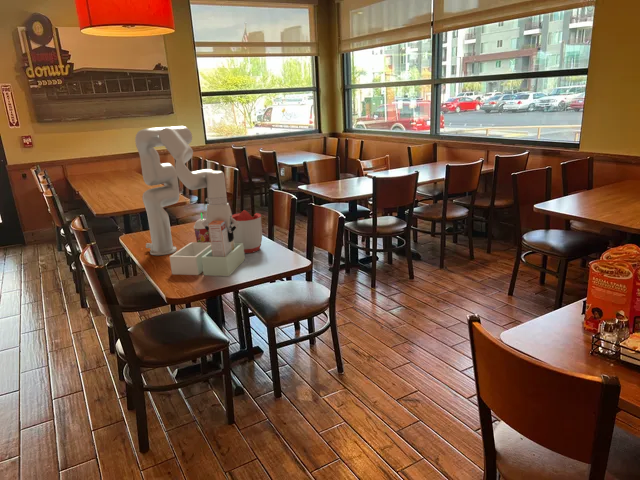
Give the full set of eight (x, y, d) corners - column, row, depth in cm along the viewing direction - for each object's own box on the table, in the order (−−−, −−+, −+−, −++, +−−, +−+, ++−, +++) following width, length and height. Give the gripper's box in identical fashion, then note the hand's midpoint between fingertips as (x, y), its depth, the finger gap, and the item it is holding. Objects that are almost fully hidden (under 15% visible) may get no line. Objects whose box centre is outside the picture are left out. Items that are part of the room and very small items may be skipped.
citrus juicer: (270, 244, 233) (267, 205, 227) (256, 256, 217) (252, 214, 211) (241, 243, 237) (237, 205, 232) (225, 254, 221) (221, 213, 216)
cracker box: (223, 260, 210) (218, 215, 204) (236, 260, 210) (232, 214, 204) (213, 271, 197) (207, 223, 191) (227, 271, 196) (221, 223, 190)
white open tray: (172, 274, 199) (169, 256, 196) (193, 258, 218) (190, 242, 215) (198, 275, 196) (195, 257, 194) (217, 259, 215) (215, 242, 213)
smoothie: (218, 251, 226) (214, 211, 220) (207, 256, 219) (202, 215, 213) (204, 249, 230) (199, 210, 224) (193, 255, 223) (188, 214, 217)
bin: (203, 275, 196) (201, 257, 194) (222, 259, 215) (220, 242, 212) (228, 275, 194) (226, 257, 191) (244, 259, 213) (243, 243, 210)
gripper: (194, 202, 194) (199, 243, 199) (234, 202, 190) (238, 243, 196) (202, 198, 201) (207, 238, 206) (240, 198, 197) (244, 238, 203)
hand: (222, 240), depth 201 cm, fingers open, 7 cm apart
